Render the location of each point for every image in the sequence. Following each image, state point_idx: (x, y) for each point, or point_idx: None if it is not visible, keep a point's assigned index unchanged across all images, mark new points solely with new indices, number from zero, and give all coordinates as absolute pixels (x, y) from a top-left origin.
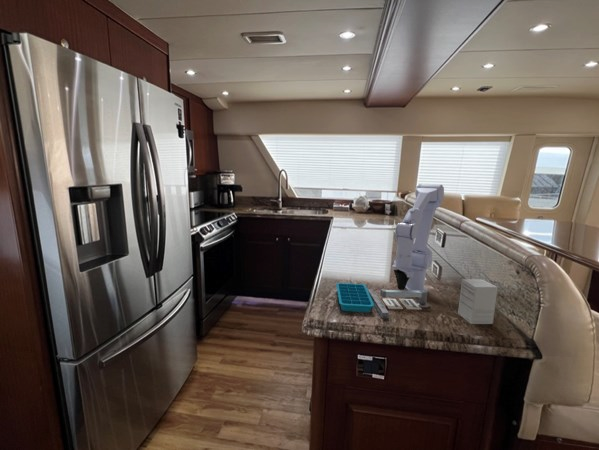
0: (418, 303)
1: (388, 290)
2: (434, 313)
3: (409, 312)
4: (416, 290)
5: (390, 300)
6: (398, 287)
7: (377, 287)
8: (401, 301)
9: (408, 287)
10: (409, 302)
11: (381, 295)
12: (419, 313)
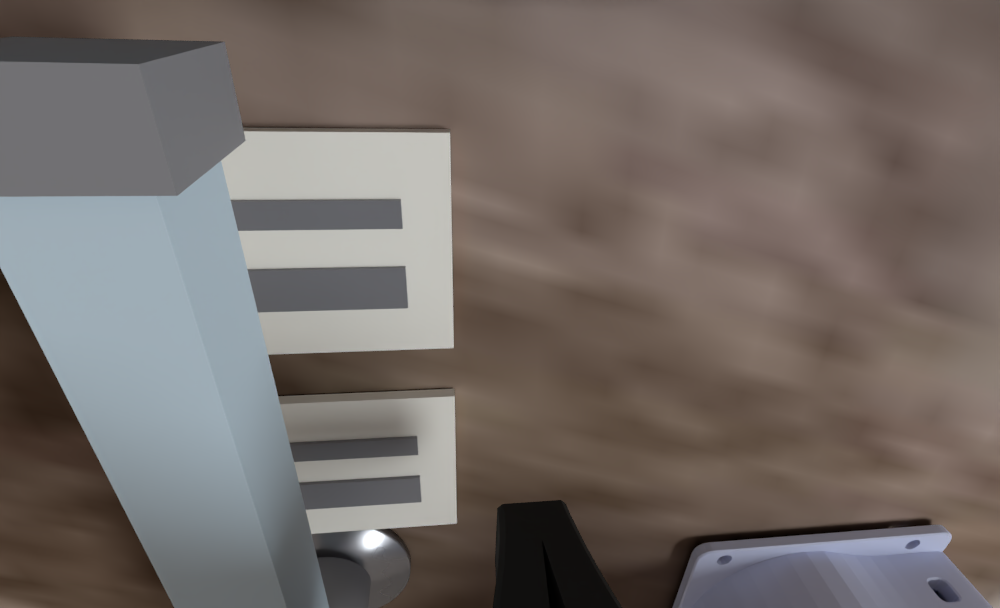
0: (333, 548)
1: (149, 306)
2: (121, 604)
3: (16, 400)
4: (679, 603)
5: (375, 260)
6: (515, 531)
7: (956, 207)
8: (361, 401)
9: (766, 566)
10: (343, 478)
11: (100, 40)
12: (45, 493)
